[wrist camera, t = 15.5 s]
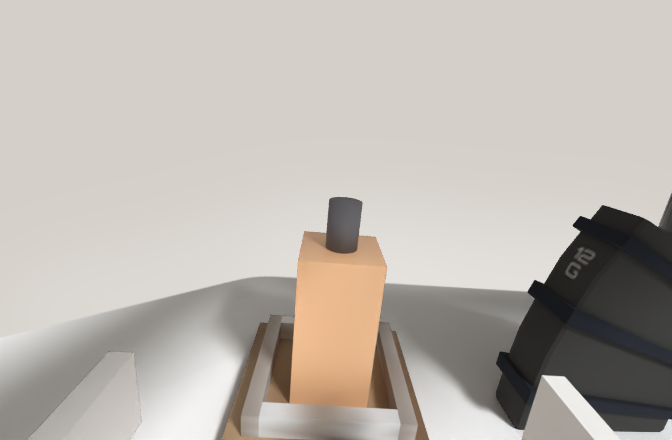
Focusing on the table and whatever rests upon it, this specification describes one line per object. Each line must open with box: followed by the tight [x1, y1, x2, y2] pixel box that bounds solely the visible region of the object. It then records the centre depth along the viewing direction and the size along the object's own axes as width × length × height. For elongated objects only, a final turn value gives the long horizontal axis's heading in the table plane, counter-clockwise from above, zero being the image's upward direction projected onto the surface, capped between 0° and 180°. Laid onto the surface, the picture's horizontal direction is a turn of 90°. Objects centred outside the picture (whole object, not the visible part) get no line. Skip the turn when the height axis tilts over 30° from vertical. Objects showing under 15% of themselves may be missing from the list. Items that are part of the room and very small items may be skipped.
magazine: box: [496, 205, 672, 432], centre depth 23 cm, size 4×13×15 cm, turn 94°
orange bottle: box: [289, 197, 387, 408], centre depth 22 cm, size 5×5×13 cm
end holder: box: [222, 315, 429, 440], centre depth 24 cm, size 12×12×2 cm
